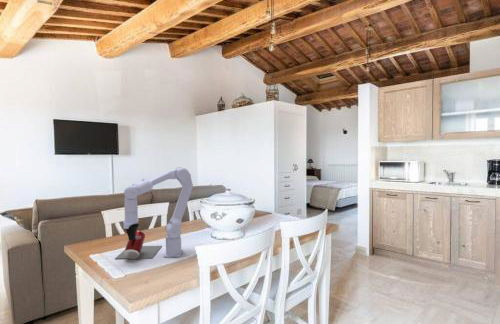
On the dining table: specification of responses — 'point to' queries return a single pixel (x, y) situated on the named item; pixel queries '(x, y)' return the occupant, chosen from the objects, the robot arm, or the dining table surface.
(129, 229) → the robot arm
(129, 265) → the dining table surface
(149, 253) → the mat
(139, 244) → the soda can
